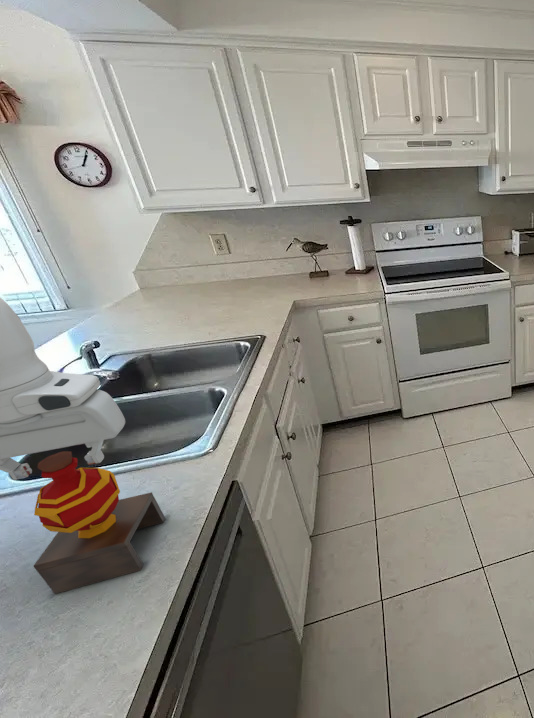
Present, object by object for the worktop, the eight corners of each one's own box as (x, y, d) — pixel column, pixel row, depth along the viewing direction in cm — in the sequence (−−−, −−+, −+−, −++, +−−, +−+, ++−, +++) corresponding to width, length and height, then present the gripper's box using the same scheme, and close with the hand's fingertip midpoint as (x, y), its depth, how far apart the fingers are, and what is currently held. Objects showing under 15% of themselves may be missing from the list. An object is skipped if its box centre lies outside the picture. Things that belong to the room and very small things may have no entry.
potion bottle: (147, 513, 74) (110, 447, 68) (74, 561, 66) (25, 491, 59) (115, 495, 78) (78, 432, 72) (44, 538, 70) (-6, 471, 63)
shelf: (54, 594, 68) (32, 566, 65) (91, 536, 78) (74, 509, 75) (140, 570, 72) (123, 542, 69) (165, 518, 82) (151, 492, 79)
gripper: (-100, 424, 55) (-40, 500, 61) (89, 393, 61) (127, 465, 67) (-61, 399, 60) (-9, 472, 66) (109, 374, 66) (143, 442, 72)
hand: (61, 468), depth 66 cm, fingers open, 8 cm apart
